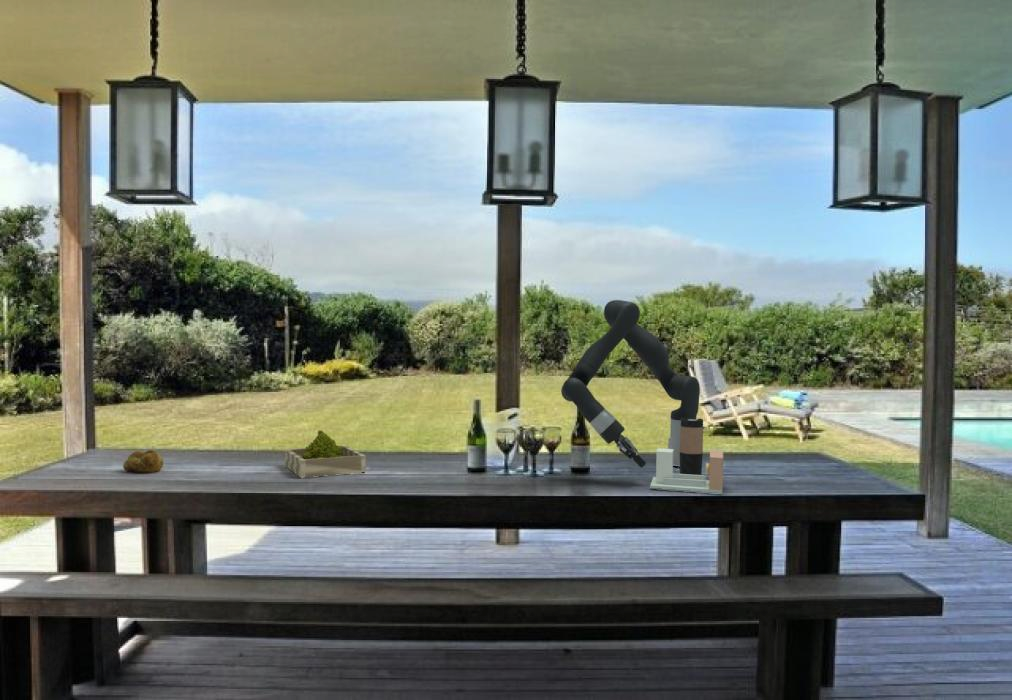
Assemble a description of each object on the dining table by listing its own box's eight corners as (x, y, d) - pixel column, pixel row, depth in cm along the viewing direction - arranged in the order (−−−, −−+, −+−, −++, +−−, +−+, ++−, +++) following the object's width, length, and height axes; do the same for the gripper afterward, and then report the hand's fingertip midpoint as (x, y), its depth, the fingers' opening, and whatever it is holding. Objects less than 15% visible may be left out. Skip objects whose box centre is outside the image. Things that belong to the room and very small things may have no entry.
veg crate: (285, 466, 280) (285, 449, 279) (345, 461, 290) (345, 445, 290) (300, 478, 259) (300, 460, 259) (365, 473, 270) (365, 455, 270)
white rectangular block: (655, 482, 252) (656, 451, 252) (657, 478, 258) (657, 448, 258) (671, 483, 251) (672, 452, 251) (672, 479, 257) (673, 449, 257)
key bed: (650, 490, 249) (650, 453, 249) (653, 481, 263) (654, 446, 262) (722, 495, 243) (723, 458, 243) (721, 485, 257) (722, 450, 256)
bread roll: (117, 473, 265) (117, 449, 264) (134, 467, 274) (134, 445, 274) (152, 475, 263) (152, 451, 262) (169, 469, 272) (169, 446, 272)
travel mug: (685, 480, 265) (687, 420, 264) (675, 475, 272) (676, 417, 272) (706, 479, 267) (707, 420, 266) (695, 474, 275) (696, 417, 274)
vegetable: (292, 464, 264) (306, 424, 272) (298, 480, 278) (310, 441, 285) (336, 472, 264) (348, 432, 272) (339, 488, 278) (351, 449, 285)
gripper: (612, 421, 252) (650, 461, 249) (617, 416, 264) (654, 454, 262) (595, 436, 253) (633, 477, 251) (601, 431, 266) (637, 469, 263)
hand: (644, 465), depth 256 cm, fingers closed
